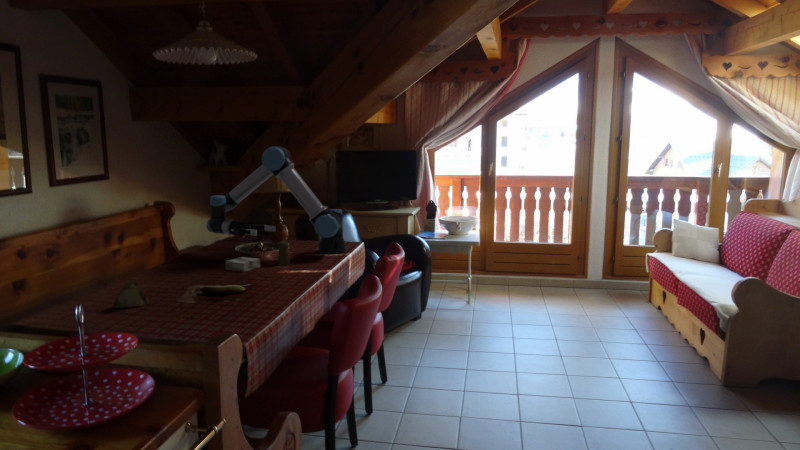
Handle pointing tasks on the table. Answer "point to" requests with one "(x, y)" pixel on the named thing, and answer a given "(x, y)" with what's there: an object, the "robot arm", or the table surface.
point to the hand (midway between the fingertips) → (266, 230)
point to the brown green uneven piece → (211, 291)
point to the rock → (130, 296)
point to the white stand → (242, 264)
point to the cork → (283, 253)
